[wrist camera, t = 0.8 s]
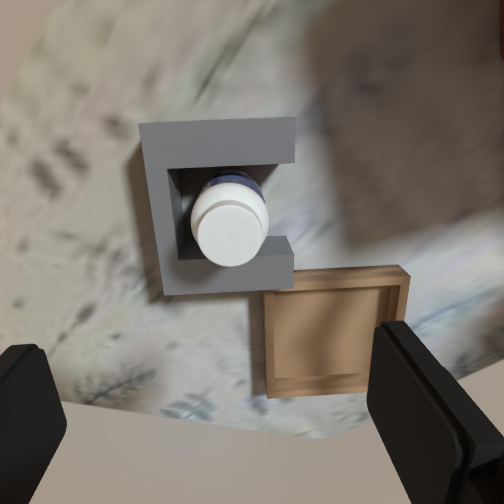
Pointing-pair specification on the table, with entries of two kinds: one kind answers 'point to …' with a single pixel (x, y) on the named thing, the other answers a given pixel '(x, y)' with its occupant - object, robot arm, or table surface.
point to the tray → (328, 328)
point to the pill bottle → (230, 218)
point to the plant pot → (502, 28)
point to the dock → (170, 206)
